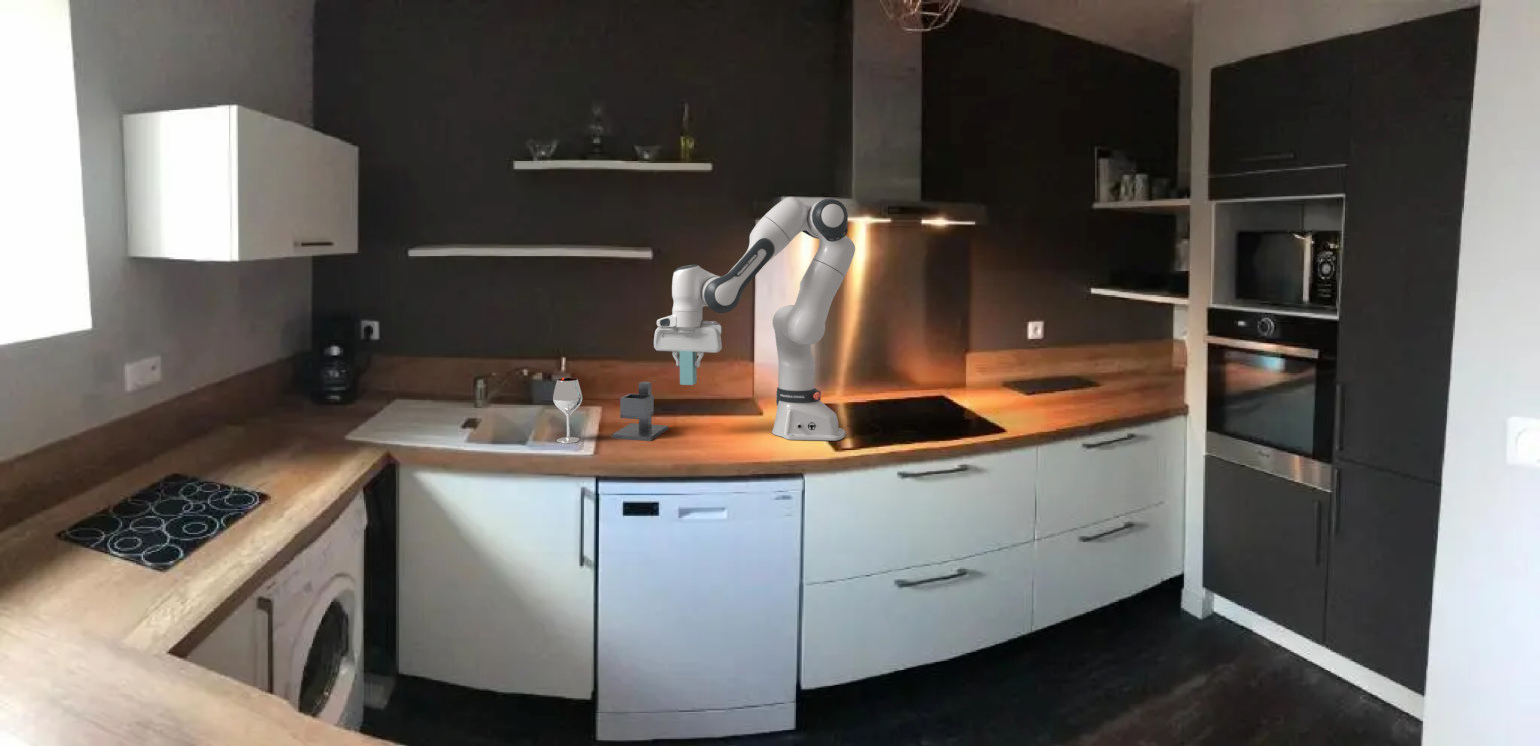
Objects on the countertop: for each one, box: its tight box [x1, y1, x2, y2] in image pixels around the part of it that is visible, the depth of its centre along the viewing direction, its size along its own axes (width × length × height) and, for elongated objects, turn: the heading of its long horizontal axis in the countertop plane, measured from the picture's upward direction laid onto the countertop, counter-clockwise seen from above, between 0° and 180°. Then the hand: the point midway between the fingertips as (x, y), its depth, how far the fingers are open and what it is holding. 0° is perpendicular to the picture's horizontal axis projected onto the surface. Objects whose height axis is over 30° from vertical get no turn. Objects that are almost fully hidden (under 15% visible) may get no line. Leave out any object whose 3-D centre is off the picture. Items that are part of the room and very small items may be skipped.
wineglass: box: [552, 377, 583, 444], centre depth 249 cm, size 8×8×18 cm
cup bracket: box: [611, 381, 669, 442], centre depth 259 cm, size 12×16×15 cm
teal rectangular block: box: [678, 351, 698, 386], centre depth 256 cm, size 4×4×10 cm
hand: (688, 366), depth 256 cm, fingers closed on teal rectangular block, 4 cm apart
